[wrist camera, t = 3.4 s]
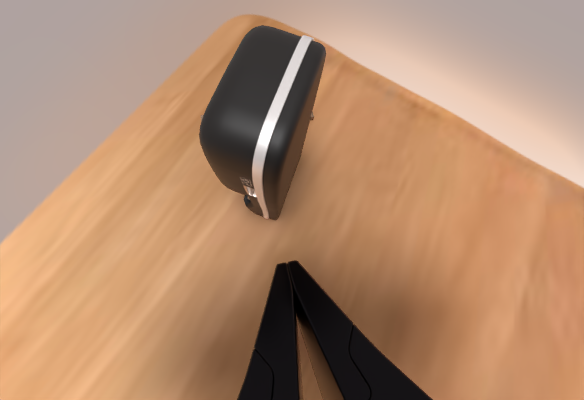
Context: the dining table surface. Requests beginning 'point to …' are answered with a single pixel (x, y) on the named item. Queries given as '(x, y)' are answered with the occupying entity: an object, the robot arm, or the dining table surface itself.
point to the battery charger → (262, 116)
